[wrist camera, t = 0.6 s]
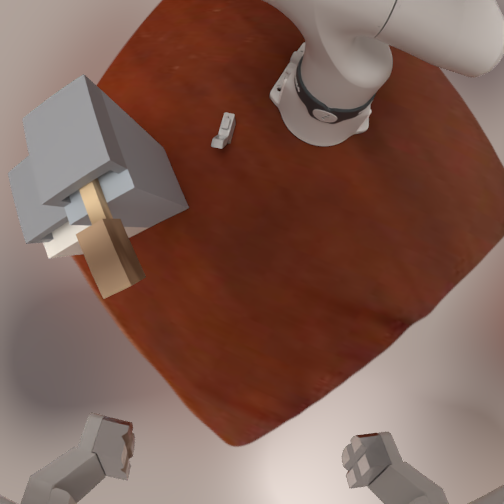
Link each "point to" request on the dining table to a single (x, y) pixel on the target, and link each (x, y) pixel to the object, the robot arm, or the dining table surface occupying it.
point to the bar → (107, 245)
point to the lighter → (225, 131)
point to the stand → (89, 169)
